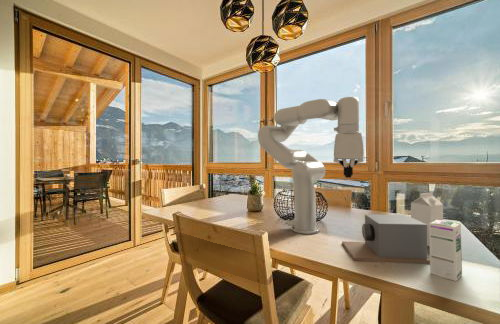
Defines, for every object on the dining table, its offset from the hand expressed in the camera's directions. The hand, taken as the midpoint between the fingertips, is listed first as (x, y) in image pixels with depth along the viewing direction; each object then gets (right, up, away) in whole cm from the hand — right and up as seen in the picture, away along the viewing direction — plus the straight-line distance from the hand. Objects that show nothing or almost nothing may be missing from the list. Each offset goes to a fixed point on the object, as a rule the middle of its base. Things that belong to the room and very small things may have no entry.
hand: (348, 177), depth 87 cm
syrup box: (+17, -26, -24) cm, 39 cm away
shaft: (+11, -21, -10) cm, 26 cm away
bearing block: (+8, -25, -10) cm, 28 cm away
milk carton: (+29, -25, -2) cm, 39 cm away
